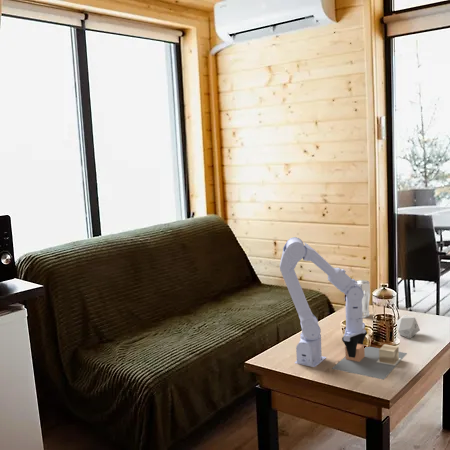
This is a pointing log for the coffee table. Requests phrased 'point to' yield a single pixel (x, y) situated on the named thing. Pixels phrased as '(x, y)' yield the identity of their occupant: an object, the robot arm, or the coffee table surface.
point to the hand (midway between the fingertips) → (355, 354)
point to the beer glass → (365, 296)
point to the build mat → (368, 364)
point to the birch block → (388, 354)
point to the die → (407, 326)
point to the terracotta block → (357, 353)
